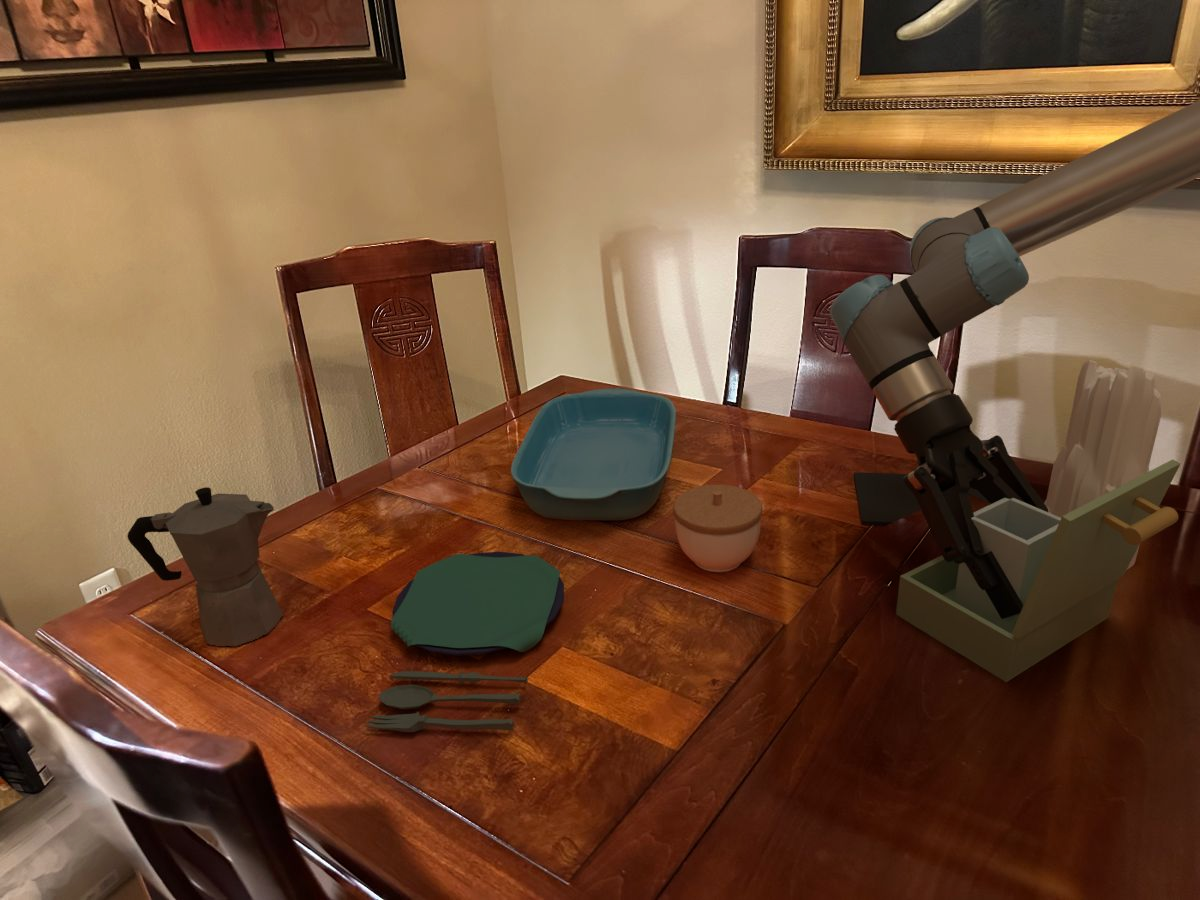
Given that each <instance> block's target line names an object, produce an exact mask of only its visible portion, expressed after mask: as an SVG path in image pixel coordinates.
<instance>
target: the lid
mask: <svg viewBox="0 0 1200 900" xmlns="http://www.w3.org/2000/svg"><path fill="white" fill-rule="evenodd" d="M1181 464H1182V463H1181V462H1178V461H1177V460H1175V459H1170V460H1169V461H1167V462H1164V463H1163V464H1160V465H1159V466H1157V467H1155V468H1153V469H1151V470H1149V472H1147V473H1145V474H1143V475H1141V476H1139V477H1137V478H1135V479H1134V480H1132V481H1130V482H1128V483H1126V484H1124V485H1122V486H1120V487H1118V488H1116V489H1114V490H1112V491H1110V492H1108V493H1106V494H1104V495H1102V496H1101V497H1099V498H1097V499H1095V500H1093V501H1091V502H1089V503H1087V504H1085V505H1083V506H1081V507H1079V508H1077V509H1075V510H1073V511H1071V512H1069V513H1067V514H1066V515H1064V516H1062V518H1061V520H1060V523H1059V525H1058V527H1057V529H1056V532H1055V534H1054V536H1053V539H1052V541H1051V543H1050V546H1049V548H1048V550H1047V553H1046V555H1045V557H1044V559H1043V562H1042V564H1041V566H1040V569H1039V571H1038V573H1037V576H1036V578H1035V580H1034V583H1033V585H1032V587H1031V589H1030V592H1029V594H1028V596H1027V599H1026V601H1025V603H1024V606H1023V608H1022V610H1021V613H1020V615H1019V617H1018V620H1017V622H1016V624H1015V626H1014V629H1013V631H1012V633H1011V634H1012V635H1014V636H1015V637H1016V638H1018V639H1019V638H1021V637H1023V636H1024V635H1026V634H1028V633H1029V632H1031V631H1033V630H1034V629H1036V628H1038V627H1039V626H1041V625H1043V624H1044V623H1046V622H1048V621H1049V620H1051V619H1053V618H1054V617H1056V616H1057V615H1059V614H1061V613H1062V612H1064V611H1066V610H1067V609H1069V608H1071V607H1072V606H1074V605H1076V604H1077V603H1079V602H1081V601H1082V600H1084V599H1086V598H1087V597H1089V596H1091V595H1092V594H1094V593H1096V592H1097V591H1099V590H1101V589H1102V588H1104V587H1106V586H1107V585H1109V584H1111V583H1112V582H1114V581H1116V580H1117V579H1118V580H1119V579H1121V578H1123V577H1124V575H1125V574H1126V572H1127V570H1128V569H1127V568H1128V566H1129V564H1130V562H1131V560H1132V558H1133V556H1134V554H1135V552H1136V550H1137V548H1138V546H1139V547H1140V545H1141V543H1143V542H1145V541H1146V540H1148V539H1150V538H1152V537H1153V536H1155V535H1156V534H1158V533H1160V532H1162V531H1164V530H1166V529H1167V528H1169V527H1170V526H1172V525H1174V524H1176V523H1177V522H1178V521H1179V514H1178V512H1177V510H1176V509H1175V508H1173V507H1170V506H1164V507H1163V506H1162V507H1160V505H1161V503H1162V502H1163V499H1164V497H1165V495H1166V493H1167V491H1168V489H1169V488H1170V486H1171V484H1172V482H1173V480H1174V478H1175V476H1176V474H1177V472H1178V470H1179V468H1180V466H1181ZM1139 544H1140V545H1139Z"/></svg>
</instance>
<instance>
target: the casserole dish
mask: <svg viewBox="0 0 1200 900" xmlns="http://www.w3.org/2000/svg"><path fill="white" fill-rule="evenodd" d="M676 422H677V410H676V406H675V404H674V402H673V401H672V400H671V399H670V398H667V397H665V396H662V395H659V394H653V393H648V392H641V391H637V390H635V389H629V388H612V387H611V388H597V389H590V390H586V391H583V392H575V393H569V394H568V393H567V394H564V395H560V396H556V397H554V398H552V399H550V400H548V401H547V402H546V403H545V404H543V405H542V407H540V409H539V410H538V412H537V413H536V415H535V416H534V418H533V420H532V422H531V424H530V426H529V428H528V430H527V431H526V434H525V435H524V437H523V439H522V441H521V443H520V445H519V447H518V449H517V450H516V451H517V452H516V453H515V455H514V458H513V460H512V463H511V466H510V474H511V477H512V479H513V481H514V483H515V485H516V487H517V489H518V491H519V493H520V494H521V497H522V498H523V500H524V502H525V503H526V505H527V506H528V508H529V509H531V511H532V512H534V513H536V514H537V515H539V516H541V517H543V518H545V519H551V520H562V521H577V522H579V521H581V522H582V521H583V522H585V521H590V522H591V521H592V522H593V521H595V522H599V521H600V522H614V521H615V522H616V521H627V520H632V519H635V518H638V517H640V516H641V515H643V514H645V513H647V512H648V511H649V510H650V509H651V508H653V506H654V505H655V504H656V502H657V501H658V499H659V497H660V495H661V493H662V490H663V487H664V484H665V481H666V477H667V474H668V472H669V470H670V466H671V461H672V456H673V450H674V441H675V440H674V439H675V431H676V424H677V423H676Z"/></svg>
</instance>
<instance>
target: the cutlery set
mask: <svg viewBox="0 0 1200 900" xmlns="http://www.w3.org/2000/svg"><path fill="white" fill-rule="evenodd" d="M560 576H561V571H560V569H558V568H556V567H555V566H554V565H552V564H551V563H549V562H547V561H546V560H545V559H543V558H541V557H540V556H538V555H533V554H527V555H526V554H523V553H518V552H517V553H516V552H507V551H488V552H475V553H470V554H465V553H456V554H453V555H451V556H448V557H445V558H443V559H439V560H438V561H436V562H433V563H431V564H429V565H427V566H426V567H423V568H421V569H418V570H417V572H416V574H415V575H414V577H413V578H412V579H411V580H410V581H408V582H407V584H406V585H405V586H404V587H403V589H402V590H401V591H400V592H399V594H397V596H396V599H395V602H394V606H393V608H392V612H391V613H392V619H391V621H390V628H391V631H392V632H393V633H394V634H395V635H396V636H398V637H399V639H400V640H401V641H402V642H403V643H404V644H405V646H407V648H410V647H411V646H414V647H415V646H416V647H418V648H420V649H422V650H425V651H426V652H429V653H434V654H442V655H449V656H456V657H458V656H459V657H460V656H461V657H462V656H472V655H487V654H490V653H493V652H497V651H502V650H504V649H505V650H506V649H508V648H509V649H512V650H514V651H517V652H519V653H527V652H528V651H530V650H531V649H533V648H534V647H536V646H537V645H538V643H539V642H540V641H541V640H542V638H543V635H544V633H545V629H546V627H547V626H549V624H551V623H552V622H553V621H554V620H555V619H556V618H557V616H558V614H559V612H560V610H561V608H562V606H563V604H564V602H565V584H564V582H563V580H562V579H561V577H560ZM526 651H527V652H526ZM389 677H390V679H392V680H393V679H395V680H426V681H428V680H429V681H452V682H453V681H454V682H456V681H457V682H458V683H459V686H462V684H463V683H465V682H467V683H470V684H475V683H477V682H481V681H489V682H490V681H491V682H493V681H494V682H495V681H497V682H498V681H502V682H503V681H504V682H515V683H524V685H527V684H528V681H529V680H528V675H525V676H499V675H487V674H486V675H485V674H480V673H478V672H475V671H469V672H468V673H465V672H464V671H463V670H461V671H460V673H459V674H457V673H451V672H450V673H449V672H444V671H443V672H441V671H423V670H421V671H420V670H419V671H418V670H403V671H398V672H394V673H391V674H390V676H389ZM521 698H522V697H521V693H474V694H473V693H471V694H461V695H460V694H459V695H457V694H455V695H441V696H438V695H437V694H436V693H435V692H434V691H433V690H432V689H430V688H429V687H427V686H422V685H416V684H404V685H395V686H392V687H390V688H386V689H384V690H382V691H380V693H379V695H378V697H377V699H378V700H379V701H380V702H382V703H383V704H384V705H385V706H388V707H390V708H394V709H398V710H412V709H419V708H421V707H423V706H426V705H428V704H430V703H436V702H479V703H480V702H481V703H499V704H510V705H520V702H521ZM365 726H366V728H370V729H374V730H386V731H387V730H388V731H389V730H391V731H395V732H403V733H415V732H417V731H418V732H419V731H423V730H426V727H435V728H436V727H437V728H444V729H452V730H499V731H500V730H501V731H513V730H514V727H515V723H514V719H513V718H485V719H448V718H440V717H439V718H438V717H428V715H427V714H423V715H420V712H419V711H416V712H415V713H404V714H401V713H400V714H392V715H374V714H373V715H372V714H371V715H370V719H368V723H367V724H366V725H365Z"/></svg>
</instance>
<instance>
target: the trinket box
mask: <svg viewBox="0 0 1200 900" xmlns="http://www.w3.org/2000/svg"><path fill="white" fill-rule="evenodd" d="M672 509H673V516H674V530H675V534H676V535H675V536H676V538H677V539H676V540H677V541H678V542H677V543H678V545H679V547H680V548H681V550H682V552H683V553H684V554H685V556H686V557H687V558H688V559H690V561H692V562H693V564H694V565H696V567H698V568H700V569H702V570H703V571H708V572H712V573H726V572H730V571H733V570H735V569H737V568H738V567H740V566H741V564H742V563H744V562H745V561H746V560H747V559H748V558H749V557H750V556H751V555H752V553H753V552H754V551H755V549H756V547H757V544H758V542H759V539H760V535H761V534H760V533H761V528H762V516H763V503H762V501H761V500H760V498H759V497H758V496H757V495H756V494H754V493H753V492H751V491H750V490H747V489H745V488H743V487H740V486H736V485H729V484H705V485H700V486H695V487H692V488H689V489H687V490H685V491H683V492H682V493H680V494H679V495H678V496H677V497H676V498H675V500H674V501H673V505H672Z"/></svg>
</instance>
